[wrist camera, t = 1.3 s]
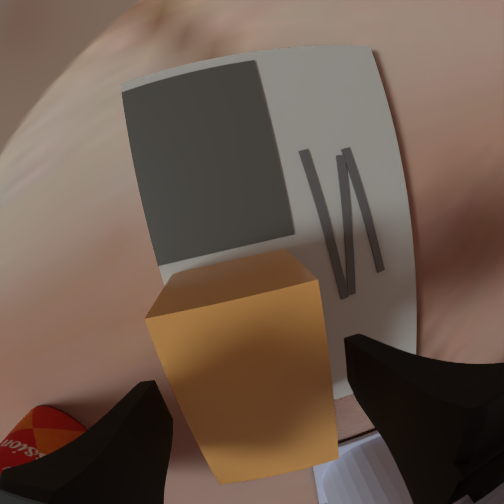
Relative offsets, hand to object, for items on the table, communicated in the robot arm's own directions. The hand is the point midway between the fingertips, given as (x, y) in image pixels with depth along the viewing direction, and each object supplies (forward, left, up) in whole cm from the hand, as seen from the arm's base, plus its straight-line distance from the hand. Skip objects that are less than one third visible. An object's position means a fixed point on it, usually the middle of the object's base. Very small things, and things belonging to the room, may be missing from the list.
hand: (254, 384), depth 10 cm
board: (+4, -3, -5) cm, 7 cm away
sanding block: (0, 0, -4) cm, 4 cm away
